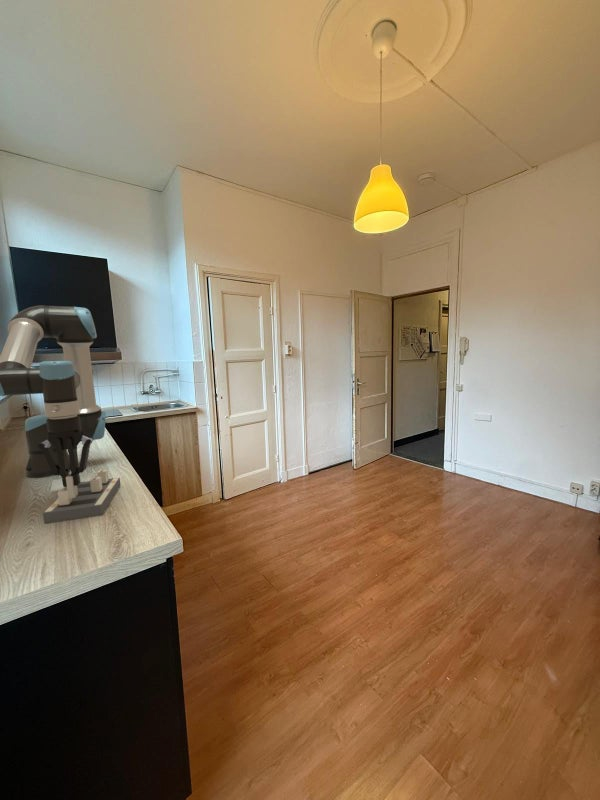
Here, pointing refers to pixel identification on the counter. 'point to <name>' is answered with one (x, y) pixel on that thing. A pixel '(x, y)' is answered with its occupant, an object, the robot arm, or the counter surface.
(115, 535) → the counter surface
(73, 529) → the counter surface
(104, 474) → the tab
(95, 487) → the tab
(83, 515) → the switch panel
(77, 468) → the robot arm
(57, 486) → the hard drive
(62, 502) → the tab
